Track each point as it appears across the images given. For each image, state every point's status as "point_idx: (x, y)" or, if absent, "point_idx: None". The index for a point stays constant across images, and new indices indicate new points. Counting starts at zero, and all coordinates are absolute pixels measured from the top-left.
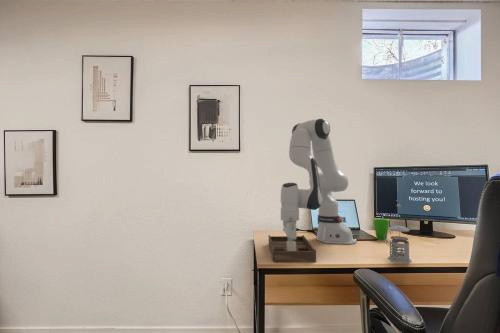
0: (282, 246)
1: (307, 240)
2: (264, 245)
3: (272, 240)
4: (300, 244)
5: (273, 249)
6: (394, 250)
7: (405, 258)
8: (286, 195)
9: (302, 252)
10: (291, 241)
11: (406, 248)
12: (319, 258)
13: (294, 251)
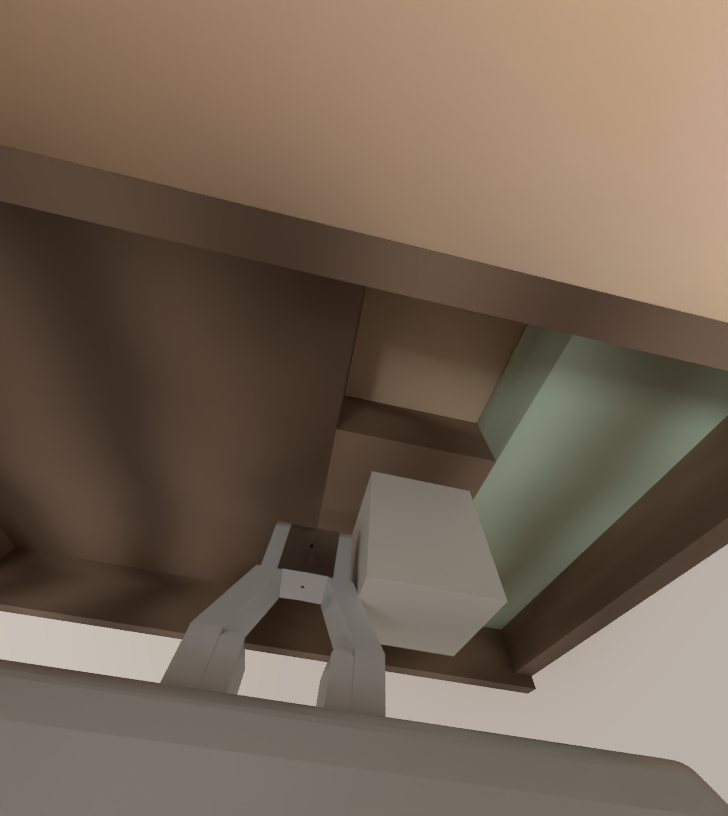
0: (237, 529)
1: (41, 163)
2: None
3: (4, 534)
4: (103, 306)
5: (494, 685)
6: None
7: None
8: None
9: (714, 538)
10: (387, 612)
11: None
12: (660, 195)
13: (635, 596)
